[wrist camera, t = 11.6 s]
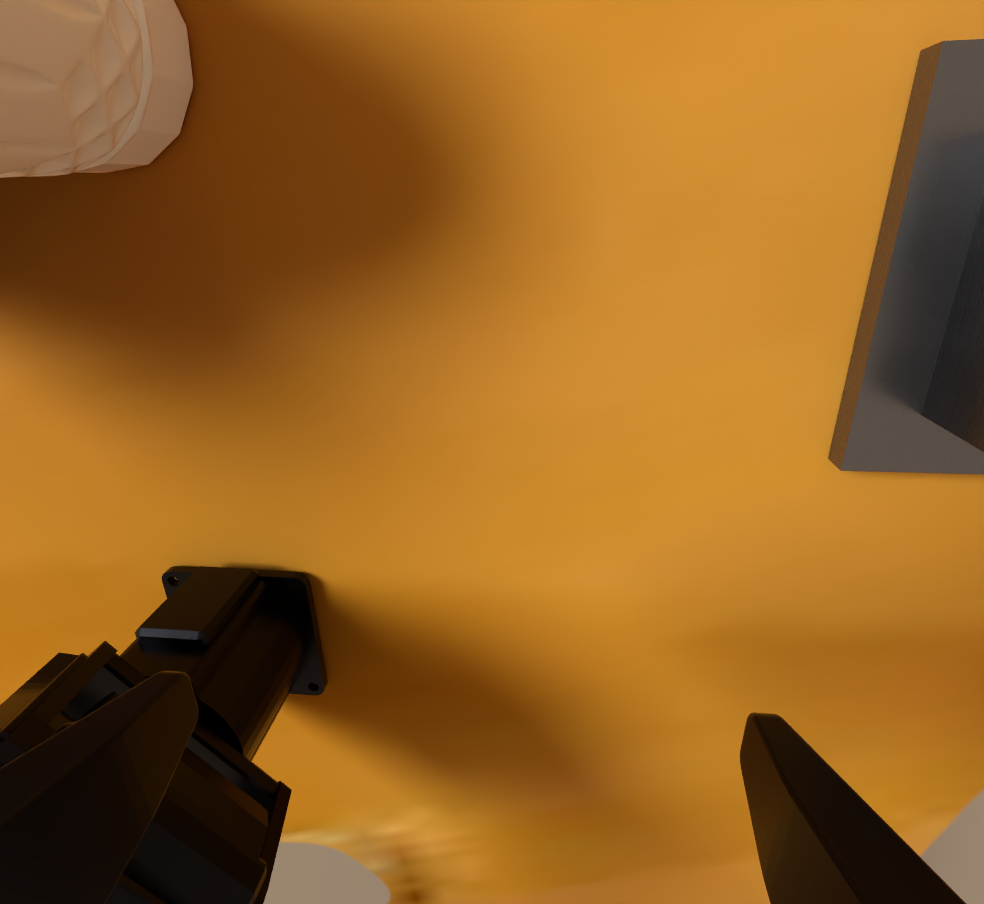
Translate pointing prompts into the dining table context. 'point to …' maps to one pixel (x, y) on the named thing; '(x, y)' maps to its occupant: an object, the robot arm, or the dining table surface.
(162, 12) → the white cup
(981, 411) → the docking mount
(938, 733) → the dining table surface
